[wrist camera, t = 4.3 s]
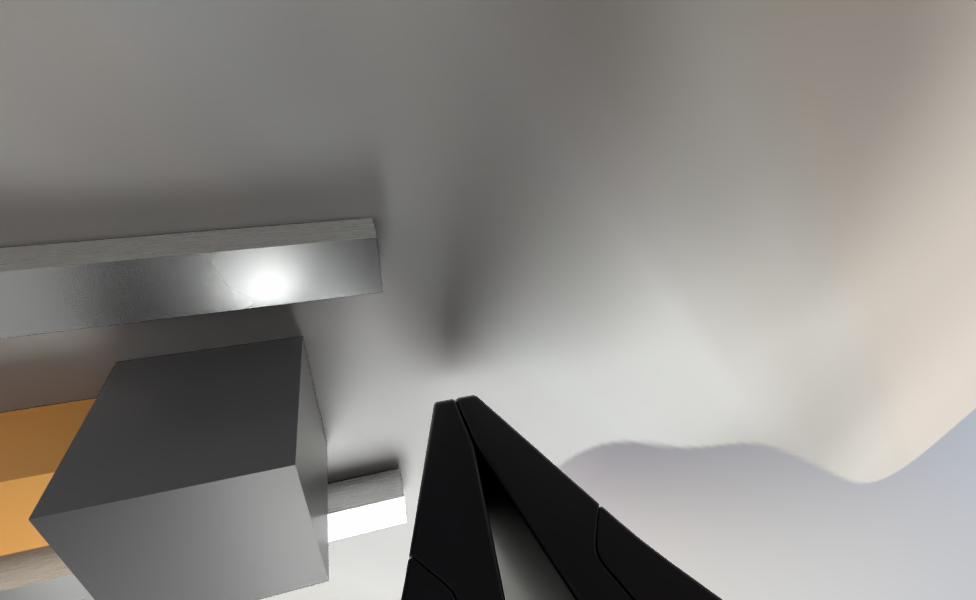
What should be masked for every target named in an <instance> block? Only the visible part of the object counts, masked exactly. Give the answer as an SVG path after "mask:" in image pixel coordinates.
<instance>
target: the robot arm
mask: <svg viewBox="0 0 976 600" xmlns="http://www.w3.org/2000/svg"><path fill="white" fill-rule="evenodd" d="M409 557H410V559H409V560H408V565H407V571H406V577H405V583H404V588H403V593H402V598H401V600H505V597H506V600H722V599H721V598H719V597H718V596H717V595H715V594H714V593H712V592H711V591H710V590H708V589H707V588H705V587H704V586H703V585H701V584H700V583H698V582H697V581H696V580H694V579H693V578H692V577H690V576H689V575H688V574H686V573H685V572H683V571H682V570H681V569H679V568H678V567H676V566H675V565H674V564H672V563H671V562H669V561H668V560H667V559H666V558H664V557H663V556H662V555H660V554H659V553H658V552H656V551H655V550H654V549H652V548H651V547H650V546H648V545H647V544H646V543H645V542H643V541H642V540H640V538H638V537H637V536H636V535H635V534H634V533H632V532H631V531H630V530H629V529H628V528H626V527H625V526H624V525H623V524H622V523H620V522H619V521H618V520H617V519H616V518H615V517H613V516H612V515H611V514H610V513H609V512H608V511H606V509H604V508H603V507H599V504H598V503H597V502H596V501H595V500H594V499H593V498H592V497H591V496H589V495H588V494H587V493H586V492H585V491H584V490H583V489H582V488H580V487H579V486H578V485H577V484H576V483H575V482H573V481H572V480H571V479H570V478H569V477H568V476H567V475H566V474H564V473H563V472H562V471H561V470H560V469H559V468H558V467H557V466H555V465H554V464H553V463H552V462H551V461H550V460H549V459H547V458H546V457H545V456H544V455H543V454H542V453H541V452H539V451H538V450H537V449H536V448H535V447H534V446H533V445H532V444H530V443H529V442H528V441H527V440H526V439H525V438H524V437H522V436H521V435H520V434H519V433H518V432H517V431H516V430H514V429H513V428H512V427H511V426H510V425H509V424H508V423H507V422H505V421H504V420H503V419H502V418H501V417H500V416H499V415H497V414H496V413H495V412H494V411H493V410H492V409H491V408H490V407H488V406H487V405H486V404H485V403H484V402H483V401H482V400H480V399H479V398H478V397H477V396H474V395H472V396H466V397H461V398H458V399H456V401H455V400H453V399H450V400H445V401H440V402H436V403H435V404H434V408H433V414H432V420H431V427H430V433H429V439H428V445H427V451H426V457H425V463H424V469H423V475H422V481H421V487H420V493H419V500H418V506H417V512H416V518H415V524H414V530H413V536H412V542H411V548H410V554H409Z"/></svg>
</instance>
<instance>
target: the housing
mask: <svg viewBox="0 0 976 600" xmlns="http://www.w3.org/2000/svg"><path fill="white" fill-rule="evenodd" d="M379 292H383V291H382V281H381V271H380V262H379V252H378V243H377V235H376V231H375V227H374V222H373V218H362V219H350V220H338V221H325V222H313V223H301V224H288V225H276V226H264V227H251V228H239V229H227V230H214V231H202V232H190V233H177V234H165V235H153V236H140V237H128V238H116V239H103V240H91V241H79V242H66V243H54V244H42V245H29V246H17V247H5V248H0V339H1V338H9V337H17V336H25V335H34V334H42V333H50V332H58V331H66V330H75V329H83V328H91V327H99V326H108V325H116V324H124V323H132V322H140V321H149V320H157V319H165V318H173V317H182V316H190V315H198V314H206V313H215V312H223V311H231V310H239V309H247V308H256V307H264V306H272V305H280V304H289V303H297V302H305V301H313V300H322V299H330V298H338V297H346V296H354V295H363V294H371V293H379ZM406 522H407V520H406V510H405V500H404V493H403V487H402V481H401V475H400V469H394V470H390V471H385V472H381V473H376V474H372V475H367V476H362V477H358V478H353V479H349V480H344V481H340V482H335V483H330V484H328V542H330V541H334V540H338V539H342V538H346V537H350V536H354V535H358V534H362V533H366V532H370V531H374V530H378V529H382V528H386V527H390V526H394V525H398V524H402V523H406ZM0 600H94V598H93V597H92V596H91V595H90V594H89V592H88V591H87V590H86V589H85V588H84V586H83V585H82V584H81V583H80V582H79V580H78V579H77V578H76V577H75V576H74V574H73V573H72V572H71V571H70V569H69V568H68V567H67V566H66V565H65V563H64V562H63V561H62V560H61V559H60V557H59V556H58V555H57V554H56V553H55V551H54V550H53V549H52V548H51V547H50V545H49V546H44V547H39V548H35V549H30V550H26V551H21V552H17V553H12V554H7V555H3V556H0Z"/></svg>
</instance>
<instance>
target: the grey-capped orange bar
mask: <svg viewBox="0 0 976 600" xmlns="http://www.w3.org/2000/svg"><path fill="white" fill-rule="evenodd" d="M49 545H50V547H51V548H52V549H53V550H54V551H55V553H56V554H57V555H58V556H59V557H60V559H61V560H62V561H63V562H64V563H65V565H66V566H67V567H68V568H69V569H70V571H71V572H72V573H73V574H74V576H75V577H76V578H77V579H78V580H79V582H80V583H81V584H82V585H83V586H84V588H85V589H86V590H87V591H88V592H89V594H90V595H91V596H92V597H93V598H94V600H260V599H263V598H267V597H271V596H274V595H278V594H282V593H286V592H289V591H293V590H297V589H300V588H304V587H308V586H312V585H315V584H319V583H323V582H326V581H329V569H328V481H327V443H326V438H325V434H324V429H323V425H322V420H321V416H320V411H319V407H318V403H317V398H316V394H315V389H314V385H313V380H312V376H311V371H310V367H309V362H308V358H307V354H306V349H305V345H304V340H303V336H302V337H294V338H287V339H280V340H273V341H266V342H258V343H251V344H244V345H237V346H230V347H223V348H215V349H208V350H201V351H194V352H187V353H179V354H172V355H165V356H158V357H151V358H144V359H136V360H129V361H122V362H117V363H116V364H115V366H114V368H113V370H112V371H111V373H110V375H109V377H108V379H107V380H106V382H105V384H104V386H103V387H102V389H101V391H100V393H99V395H98V396H97V398H93V399H87V400H80V401H74V402H68V403H61V404H55V405H48V406H42V407H35V408H29V409H22V410H16V411H9V412H3V413H0V556H3V555H7V554H12V553H17V552H21V551H26V550H30V549H35V548H39V547H44V546H49Z"/></svg>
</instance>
